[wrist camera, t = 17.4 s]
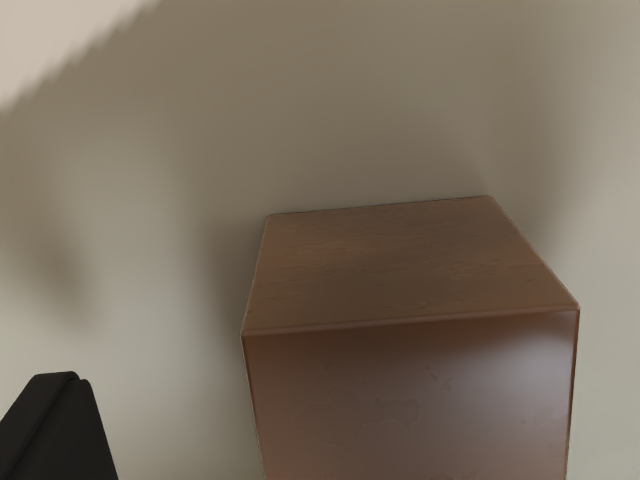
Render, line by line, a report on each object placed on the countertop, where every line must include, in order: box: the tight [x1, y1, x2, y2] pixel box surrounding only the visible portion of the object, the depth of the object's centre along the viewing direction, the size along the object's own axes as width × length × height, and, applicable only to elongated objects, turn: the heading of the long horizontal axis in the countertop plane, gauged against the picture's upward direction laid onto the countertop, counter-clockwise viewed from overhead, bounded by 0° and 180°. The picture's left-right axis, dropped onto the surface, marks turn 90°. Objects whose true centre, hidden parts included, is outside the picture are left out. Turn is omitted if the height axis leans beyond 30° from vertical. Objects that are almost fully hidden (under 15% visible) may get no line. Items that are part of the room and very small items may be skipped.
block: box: [240, 196, 580, 480], centre depth 11 cm, size 5×5×5 cm
